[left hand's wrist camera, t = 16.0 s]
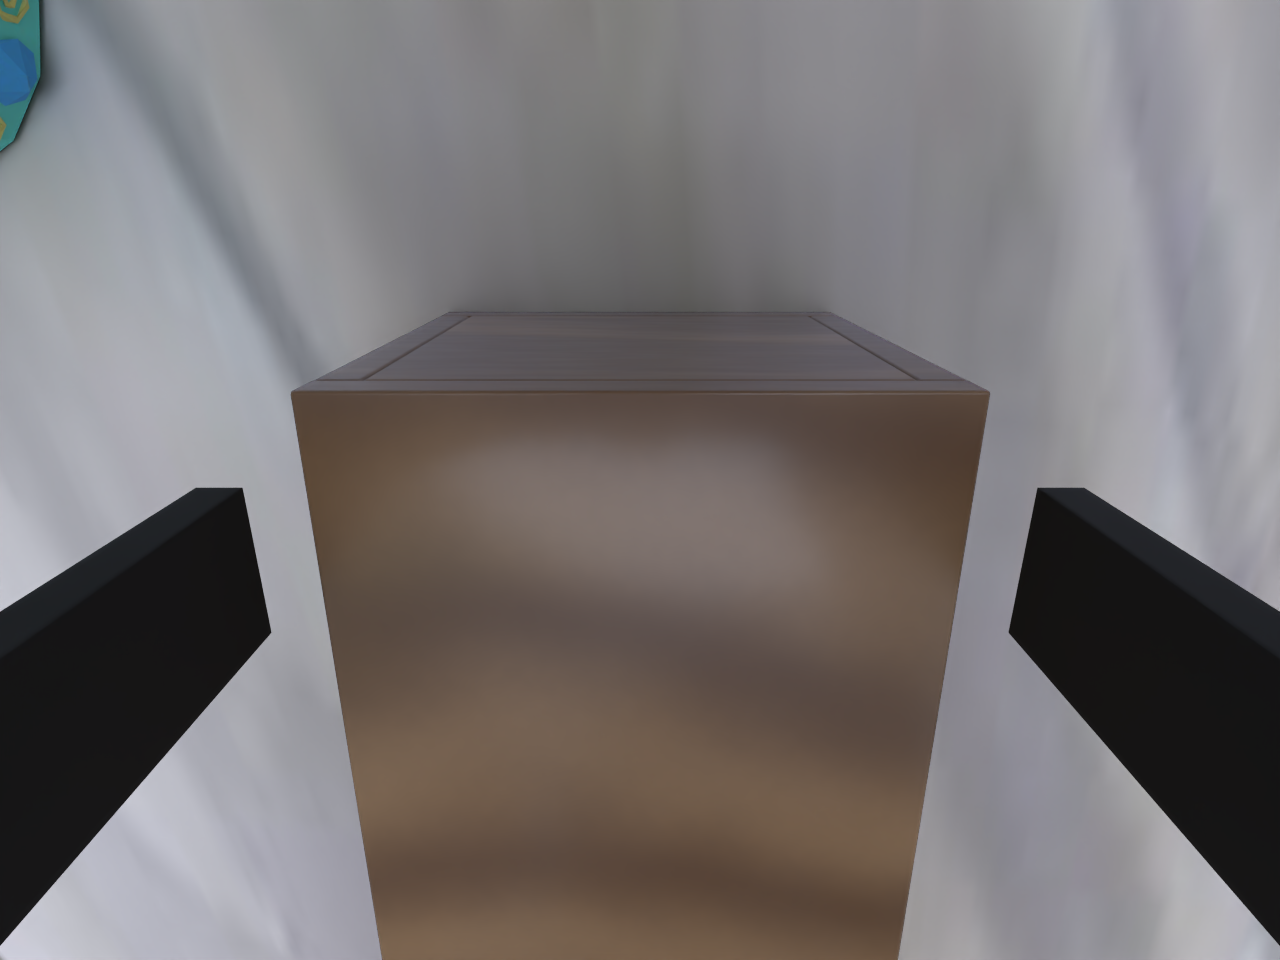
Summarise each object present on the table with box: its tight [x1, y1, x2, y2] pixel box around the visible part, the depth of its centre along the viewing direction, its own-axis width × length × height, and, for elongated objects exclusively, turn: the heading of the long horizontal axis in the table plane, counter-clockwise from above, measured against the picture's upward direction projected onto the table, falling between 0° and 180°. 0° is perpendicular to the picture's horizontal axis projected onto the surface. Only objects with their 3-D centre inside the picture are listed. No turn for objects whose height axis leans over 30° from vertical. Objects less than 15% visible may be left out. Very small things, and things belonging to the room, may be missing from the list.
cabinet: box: [291, 312, 990, 960], centre depth 20 cm, size 21×11×10 cm, turn 0°
